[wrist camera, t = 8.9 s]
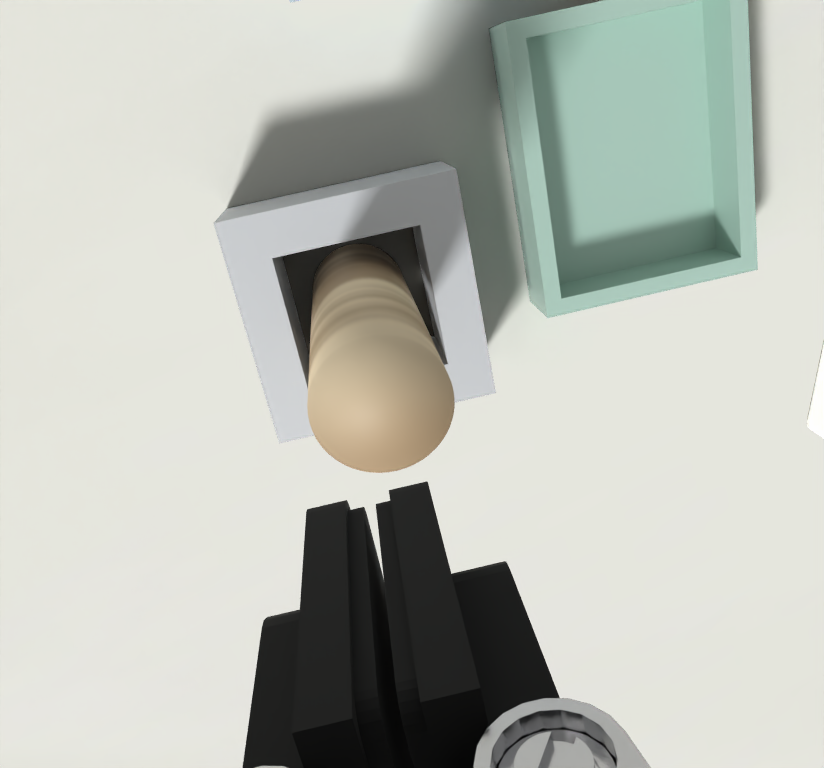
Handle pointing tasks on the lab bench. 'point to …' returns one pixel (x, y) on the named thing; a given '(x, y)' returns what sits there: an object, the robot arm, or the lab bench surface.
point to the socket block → (340, 222)
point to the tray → (629, 147)
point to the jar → (818, 402)
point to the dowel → (373, 365)
